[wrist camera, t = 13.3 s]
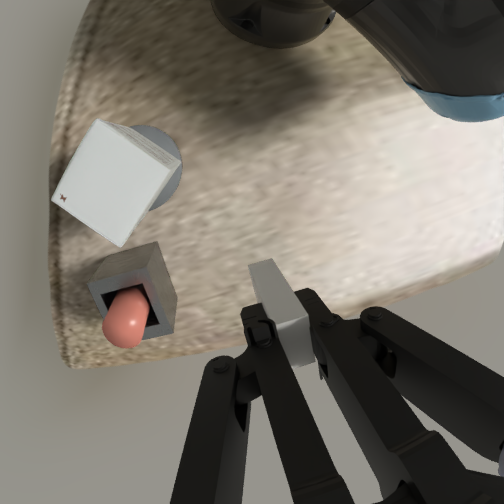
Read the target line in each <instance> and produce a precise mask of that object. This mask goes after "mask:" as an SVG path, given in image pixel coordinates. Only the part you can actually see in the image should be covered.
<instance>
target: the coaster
mask: <svg viewBox="0 0 504 504" xmlns="http://www.w3.org/2000/svg"><path fill="white" fill-rule="evenodd" d="M129 128H132V129H134V130H135V131H137V132H138V133H140V134H141V135H143V136H144V137H146V138H147V139H149V140H150V141H152V142H153V143H155V144H156V145H158V146H159V147H161V148H162V149H164V150H165V151H167V152H168V153H169V154H171V155H172V156H174V157H175V158H177V159H178V160H180V161H181V163H180V165H179V166H178V168H177V169H176V170H175V172H174V173H173V175H172V176H171V178H170V179H169V181H168V182H167V184H166V185H165V187H164V188H163V190H162V191H161V193H160V194H159V196H158V197H157V199H156V200H155V202H154V203H153V205H152V206H151V208H150V209H149V211H151V210H153V209H156V208H158V207H159V206H161V205H162V204H164V203H165V202H166V201H167V200H168V199H169V198H170V197H171V196H172V195H173V193H174V192H175V190H176V189H177V186H178V184H179V182H180V179H181V174H182V159H181V154H180V151H179V149H178V147H177V145H176V144H175V142H174V141H173V140H172V138H171V137H170V136H169V135H167V134H166V133H165V132H163V131H162V130H159V129H157V128H155V127H151V126H146V125H136V126H131V127H129Z"/></svg>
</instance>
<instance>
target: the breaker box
mask: <svg viewBox="0 0 504 504" xmlns="http://www.w3.org/2000/svg"><path fill="white" fill-rule="evenodd" d="M141 283H142V284H143V285H144V288H145V290H146V293H147V295H148V297H149V300H150V302H151V305H150V309H149V313H148V317H147V321H146V325H145V329H144V333H143V337H142V340H145V339H150V338H155V337H159V336H163V335H168V334H172V333H174V324H175V315H176V306H177V295H176V292H175V290H174V287H173V284H172V282H171V279H170V276H169V273H168V271H167V268H166V265H165V262H164V259H163V256H162V253H161V250H160V247H159V244H158V241H157V242H153V243H150V244H146V245H143V246H139V247H136V248H133V249H129V250H126V251H123V252H119V253H116V254H113V255H109V256H107V257H106V258H105V260H104V261H103V262H102V264H101V265H100V266H99V268H98V269H97V270H96V272H95V273H94V274H93V276H92V277H91V279H90V280H89V281H88V283H87V286H88V288H89V290H90V292H91V294H92V297H93V299H94V301H95V303H96V305H97V307H98V309H99V311H100V313H101V315H102V317H103V319H105V317H106V315H107V313H108V310H109V308H110V306H111V304H112V302H113V300H114V298H115V296H116V294H117V292H118V290H119V289H122V288H126V287H130V286H134V285H137V284H141Z"/></svg>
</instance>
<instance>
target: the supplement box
mask: <svg viewBox="0 0 504 504" xmlns="http://www.w3.org/2000/svg"><path fill="white" fill-rule="evenodd" d="M180 163H181V161H180V160H178V159H177V158H175V157H174V156H172V155H171V154H169V153H168V152H167V151H165V150H164V149H162V148H161V147H159V146H158V145H156V144H155V143H153V142H152V141H150V140H149V139H147V138H146V137H144V136H143V135H141V134H140V133H138V132H137V131H135V130H134V129H132V128H129V127H126V126H123V125H119V124H115V123H111V122H107V121H104V120H101V119H99V118H97V119H96V120H95V121H94V122H93V123H92V125H91V127H90V128H89V130H88V131H87V133H86V135H85V136H84V138H83V140H82V141H81V143H80V145H79V147H78V148H77V150H76V152H75V154H74V155H73V157H72V159H71V160H70V162H69V164H68V166H67V168H66V170H65V172H64V174H63V176H62V178H61V180H60V182H59V184H58V186H57V188H56V190H55V192H54V194H53V196H52V198H51V201H52V202H54V203H55V204H57V205H58V206H60V207H61V208H63V209H64V210H66V211H67V212H68V213H70V214H71V215H73V216H74V217H76V218H77V219H78V220H80V221H81V222H83V223H84V224H85V225H87V226H88V227H90V228H91V229H93V230H94V231H96V232H97V233H98V234H100V235H101V236H103V237H104V238H106V239H107V240H109V241H110V242H112V243H113V244H115V245H116V246H118V247H120V248H121V247H122V246H123V245H124V243H125V242H126V240H127V239H128V238H129V236H130V235H131V233H132V232H133V231H134V229H135V228H136V227H137V225H138V224H139V223H140V222H141V220H142V219H143V218H144V216H145V215H146V214H147V212H148V211H149V209H150V208H151V206H152V205H153V203H154V202H155V200H156V199H157V197H158V196H159V194H160V193H161V191H162V190H163V188H164V187H165V185H166V184H167V182H168V181H169V179H170V178H171V176H172V175H173V173H174V172H175V170H176V169H177V168H178V166H179V165H180Z"/></svg>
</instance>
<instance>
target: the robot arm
mask: <svg viewBox="0 0 504 504" xmlns="http://www.w3.org/2000/svg"><path fill="white" fill-rule="evenodd" d="M211 2H212V7H213V9H214V12H215V14H216V16H217V17H218V19H219V20H220V21H221V23H222V24H223V25H224V26H225V27H226V28H227V29H228V30H230V31H231V32H232V33H233V34H235V35H237V36H238V37H240V38H242V39H244V40H246V41H248V42H251V43H254V44H257V45H260V46H265V47H271V48H290V47H296V46H300V45H303V44H306V43H308V42H310V41H312V40H314V39H315V38H316V37H318V36H319V35H320V34H321V33H323V32H324V31H325V30H326V29H327V28H328V27H329V26H330V24H331V23H332V21H333V19H334V17H335V14H336V12H337V13H339V14H340V15H341V16H342V17H343V18H344V19H345V20H346V21H347V22H348V23H350V24H351V25H352V26H353V27H354V28H355V29H356V30H357V31H358V32H360V33H361V34H362V35H363V36H364V37H365V38H366V39H367V40H368V41H369V42H370V43H371V44H372V45H373V46H374V47H375V48H376V49H377V50H378V51H379V52H380V53H381V54H382V55H383V56H384V57H385V58H386V59H387V60H388V61H389V62H390V63H391V64H392V66H393V67H394V68H395V69H396V70H397V71H398V72H399V74H400V75H401V77H402V79H403V81H404V82H405V83H406V84H407V85H408V86H409V87H410V88H411V89H413V90H414V91H415V92H416V93H417V94H418V95H419V96H420V97H421V98H422V99H423V101H424V102H425V103H426V104H427V105H428V106H429V107H430V109H432V110H433V111H434V112H436V113H437V114H439V115H440V116H443V117H446V118H450V119H452V120H455V121H460V122H482V121H488V120H493V119H496V118H500V117H502V116H504V0H211ZM248 268H249V271H250V275H251V279H252V283H253V287H254V291H255V294H256V298H257V302H258V304H254V305H251V306H247V307H244V308H243V309H242V311H241V314H240V315H241V318H242V322H243V326H244V334H245V337H246V340H247V344H248V347H247V349H246V350H245V352H244V353H243V354H241V355H240V356H238V357H236V358H235V359H233V358H232V357H230V356H219V357H215V358H214V359H211V360H210V361H209V362H208V363H207V365H206V366H205V369H204V372H203V376H202V380H201V384H200V387H199V392H198V395H197V399H196V403H195V407H194V410H193V414H192V418H191V422H190V426H189V429H188V434H187V437H186V441H185V445H184V449H183V453H182V457H181V461H180V464H179V468H178V472H177V476H176V480H175V484H174V488H173V492H172V497H171V501H170V504H242V495H243V485H244V474H245V464H246V454H247V444H248V433H249V423H250V411H251V401H252V400H254V399H256V398H258V397H259V396H261V395H262V396H263V400H264V404H265V407H266V411H267V414H268V418H269V421H270V424H271V428H272V431H273V435H274V438H275V441H276V445H277V448H278V451H279V454H280V458H281V461H282V464H283V467H284V471H285V474H286V477H287V481H288V484H289V487H290V491H291V495H292V499H293V502H294V504H355V503H354V501H353V499H352V496H351V494H350V492H349V490H348V488H347V486H346V483H345V482H344V479H343V478H342V477H341V476H340V475H339V474H338V472H337V470H336V468H335V466H334V464H333V461H332V459H331V457H330V455H329V452H328V450H327V448H326V446H325V444H324V441H323V439H322V436H321V434H320V432H319V430H318V427H317V425H316V423H315V421H314V418H313V416H312V414H311V411H310V409H309V407H308V405H307V402H306V400H305V398H304V395H303V393H302V391H301V388H300V386H299V384H298V381H297V379H296V377H295V374H294V372H293V370H292V369H295V368H298V367H301V366H304V365H307V364H310V363H313V362H315V356H316V358H317V360H318V366H319V374H320V379H321V380H322V379H323V377H324V379H325V381H326V383H327V385H328V387H329V389H330V390H331V392H332V394H333V396H334V398H335V400H336V402H337V404H338V406H339V407H340V409H341V411H342V413H343V415H344V417H345V419H346V421H347V422H348V425H349V427H350V428H351V430H352V432H353V434H354V436H355V438H356V440H357V442H358V444H359V445H360V447H361V449H362V451H363V453H364V455H365V457H366V459H367V461H368V463H369V465H370V467H371V468H372V471H373V472H374V474H375V476H376V478H377V480H378V482H379V485H380V491H381V494H382V497H383V499H384V500H383V501H381V502H378V503H373V504H504V377H502V376H501V375H499V374H497V373H496V372H494V371H492V370H491V369H489V368H487V367H486V366H484V365H482V364H480V363H478V362H477V361H475V360H474V359H472V358H470V357H468V356H466V355H465V354H463V353H462V352H460V351H458V350H457V349H455V348H453V347H451V346H450V345H448V344H446V343H445V342H443V341H441V340H439V339H438V338H436V337H434V336H432V335H431V334H429V333H427V332H425V331H424V330H422V329H420V328H419V327H417V326H415V325H413V324H412V323H410V322H408V321H406V320H405V319H403V318H401V317H399V316H398V315H396V314H394V313H392V312H390V311H389V310H387V309H385V308H382V307H376V306H375V307H369V308H367V309H365V310H363V311H362V312H361V315H360V318H359V319H352V320H343V319H342V318H341V317H340V316H339V315H337V314H334V313H331V312H330V310H329V309H328V308H327V306H326V305H325V304H324V302H323V301H322V300H321V299H320V297H319V296H318V295H317V293H316V292H315V291H314V290H312V289H309V288H305V289H302V290H299V291H295V292H293V290H292V289H291V287H290V285H289V284H288V282H287V281H286V279H285V278H284V276H283V274H282V273H281V271H280V270H279V268H278V267H277V265H276V264H275V262H274V261H273V259H272V258H271V259H268V260H264V261H261V262H257V263H254V264H250V265H248ZM314 354H315V355H314ZM322 375H323V377H322ZM401 395H402V396H403V397H405V398H406V399H407V400H409V401H410V402H411V403H412V404H414V405H415V406H416V407H417V408H419V409H420V410H421V411H423V412H424V413H425V414H427V415H428V416H429V417H430V418H432V419H433V420H434V421H436V422H437V423H438V424H439V425H441V426H442V427H443V428H445V429H446V430H447V431H449V432H450V433H451V434H452V435H454V436H455V437H456V438H458V439H459V440H460V441H462V442H463V443H464V444H466V445H467V446H468V447H470V448H471V449H472V450H474V451H475V452H477V453H478V454H480V455H481V456H483V457H485V458H487V459H489V460H491V461H494V462H497V463H499V469H498V473H499V475H500V476H496V475H491V474H486V473H481V472H476V471H472V470H468V469H466V468H465V467H464V465H463V464H462V462H461V461H460V460H459V458H458V457H457V456H456V454H455V453H454V451H453V450H452V449H451V447H450V446H449V445H448V443H447V442H446V441H445V439H444V438H443V436H442V435H441V434H439V432H437V431H435V430H433V431H428V430H427V429H426V428H425V427H424V426H423V424H422V423H421V422H420V420H419V419H418V418H417V416H416V415H415V414H414V412H413V411H412V409H411V408H410V407H409V405H408V404H407V403H406V401H405V400H404V399H403V397H402V396H401Z"/></svg>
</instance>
